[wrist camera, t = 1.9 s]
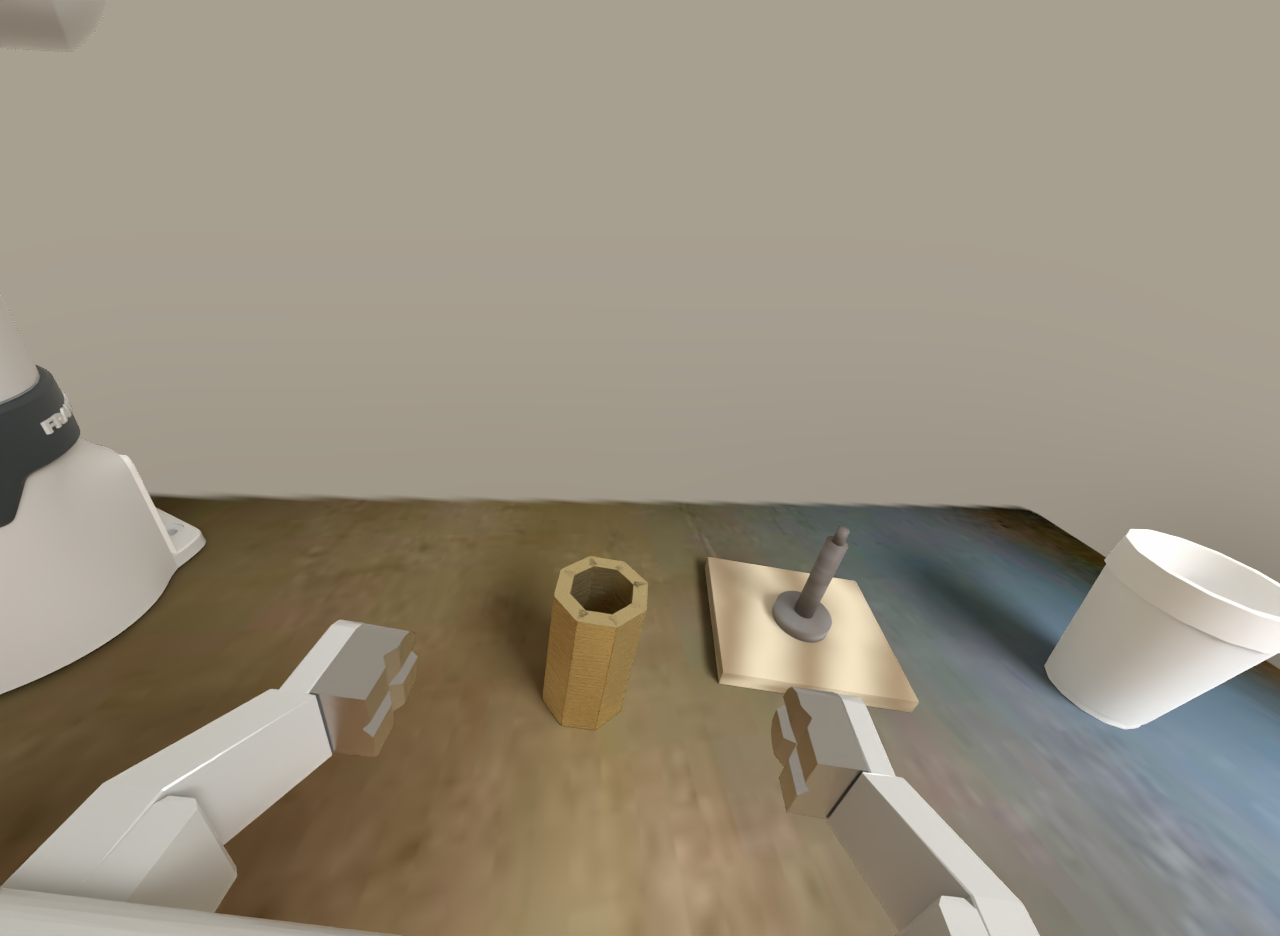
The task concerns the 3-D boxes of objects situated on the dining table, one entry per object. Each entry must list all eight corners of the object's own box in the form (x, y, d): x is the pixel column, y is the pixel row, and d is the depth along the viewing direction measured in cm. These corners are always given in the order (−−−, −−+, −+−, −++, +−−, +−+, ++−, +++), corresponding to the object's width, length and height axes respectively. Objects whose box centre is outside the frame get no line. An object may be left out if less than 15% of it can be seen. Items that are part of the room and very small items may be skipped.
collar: (536, 721, 27) (547, 616, 23) (553, 651, 32) (566, 552, 27) (619, 733, 28) (645, 632, 23) (624, 662, 32) (648, 565, 28)
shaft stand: (718, 683, 32) (764, 571, 27) (704, 566, 42) (735, 470, 37) (911, 712, 33) (991, 609, 27) (850, 590, 43) (900, 499, 38)
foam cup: (1117, 664, 41) (1236, 552, 34) (1201, 769, 33) (1375, 648, 26) (1003, 629, 42) (1097, 515, 36) (1057, 722, 34) (1189, 596, 28)
